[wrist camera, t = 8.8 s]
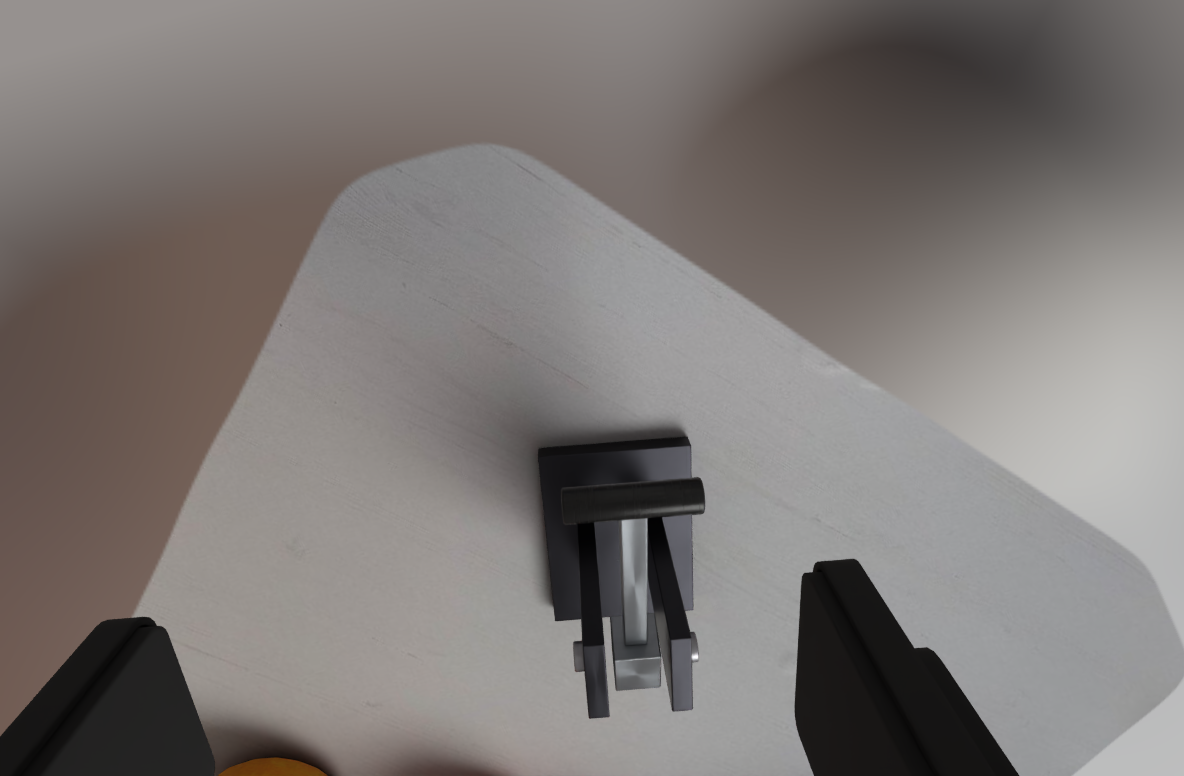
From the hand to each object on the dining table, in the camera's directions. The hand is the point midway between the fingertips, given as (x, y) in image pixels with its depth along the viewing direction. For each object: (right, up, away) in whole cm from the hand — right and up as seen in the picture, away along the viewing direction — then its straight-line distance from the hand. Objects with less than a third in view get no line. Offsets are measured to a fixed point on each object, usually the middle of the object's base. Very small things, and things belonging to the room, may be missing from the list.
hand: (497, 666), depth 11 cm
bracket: (+3, -5, +35) cm, 35 cm away
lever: (+3, -4, +22) cm, 23 cm away
